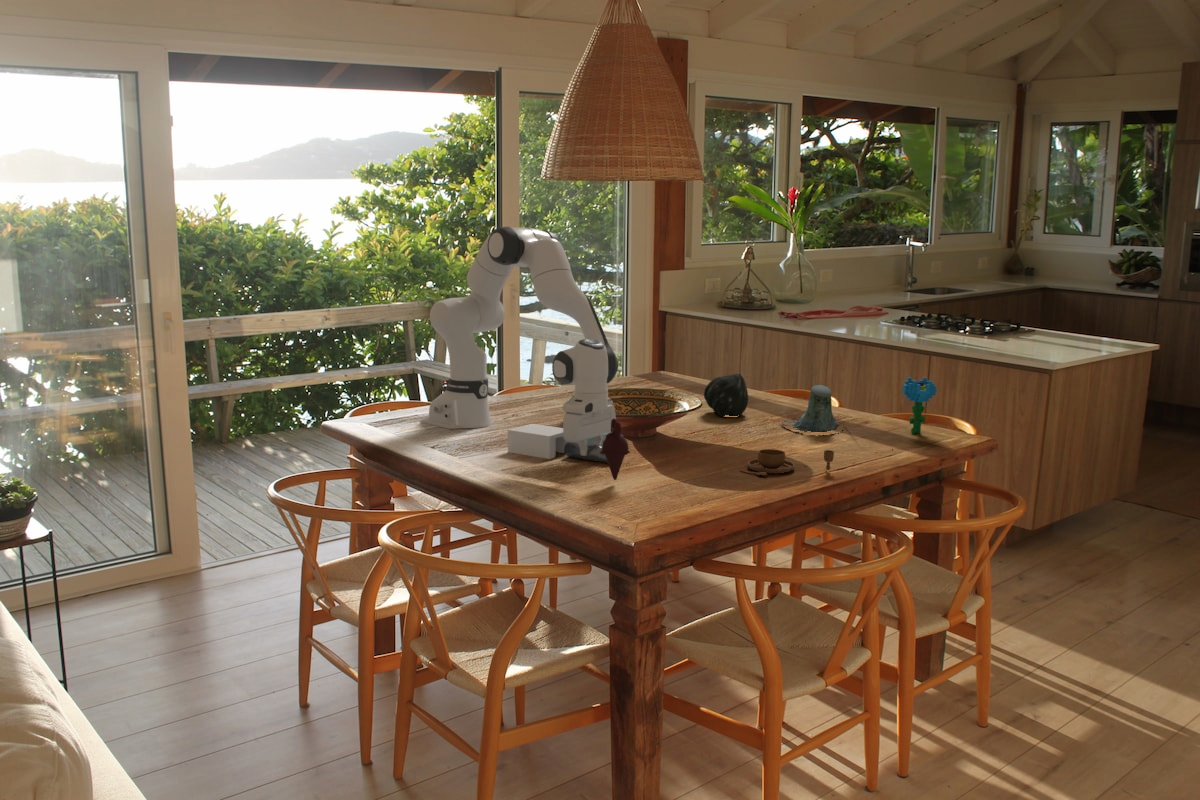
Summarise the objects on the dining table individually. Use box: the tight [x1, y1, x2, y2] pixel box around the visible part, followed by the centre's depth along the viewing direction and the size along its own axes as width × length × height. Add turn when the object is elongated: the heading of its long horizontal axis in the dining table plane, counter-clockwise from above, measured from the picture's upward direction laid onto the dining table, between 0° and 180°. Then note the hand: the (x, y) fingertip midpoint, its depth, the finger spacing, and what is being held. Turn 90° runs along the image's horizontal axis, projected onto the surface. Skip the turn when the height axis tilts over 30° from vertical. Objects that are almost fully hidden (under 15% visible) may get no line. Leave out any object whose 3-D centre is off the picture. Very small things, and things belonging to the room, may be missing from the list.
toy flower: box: [901, 376, 937, 435], centre depth 304 cm, size 9×9×18 cm
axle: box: [563, 442, 608, 464], centre depth 274 cm, size 14×4×4 cm, turn 57°
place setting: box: [744, 448, 835, 476], centre depth 265 cm, size 18×20×6 cm
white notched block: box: [507, 423, 567, 460], centre depth 282 cm, size 14×11×6 cm
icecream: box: [600, 418, 631, 481], centre depth 252 cm, size 7×7×15 cm
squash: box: [703, 373, 749, 417], centre depth 331 cm, size 14×15×15 cm
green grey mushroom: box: [781, 384, 840, 432], centre depth 312 cm, size 18×20×18 cm
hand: (590, 453), depth 274 cm, fingers closed on axle, 4 cm apart
